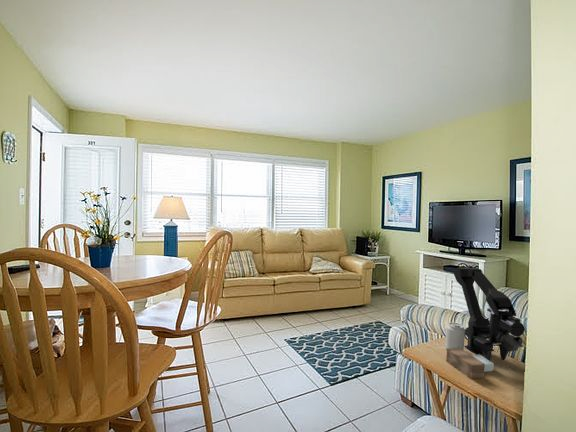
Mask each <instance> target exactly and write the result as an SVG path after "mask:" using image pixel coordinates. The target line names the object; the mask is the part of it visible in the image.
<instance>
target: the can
mask: <svg viewBox="0 0 576 432" xmlns="http://www.w3.org/2000/svg"><path fill="white" fill-rule="evenodd" d="M464 327H465V326H464V325H463V324H461V323H458V322H453V321H452V322H451V321H450V322H448V324H447V325H446V329H445V330H446V331H445V341H444V342H445V344H444V346H445V349H446V350H447V349H450V348H458V347H459V348H460V349H462V350H464V351H465V337H466V335H465V329H466V328H464Z"/></svg>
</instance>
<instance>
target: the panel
mask: <svg viewBox="0 0 576 432" xmlns="http://www.w3.org/2000/svg"><path fill="white" fill-rule="evenodd" d="M472 356H473V357H475V358H476V359H478V360H479V361H481V362H483V363H484V364H485V368H484V373H485V372H493V371H494V366H495V363H494V362H492V361H491V360H490V361H489V360H487V359H486V358H485V356H482V355H481V354H472Z"/></svg>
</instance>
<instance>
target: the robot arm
mask: <svg viewBox="0 0 576 432" xmlns="http://www.w3.org/2000/svg"><path fill="white" fill-rule="evenodd" d="M453 276H454V279H455V280H456V283H458V284H459V285H460V286H461V289H462V292H463V296H464V299H465V302H466V307H467V310H468V313H469V319H468V322H467V323H468V324H467V327H466V328H464V329H465V337H467V345H464V349H465V348H466V349H467V350H469V351H471V352H473V353H474V354H475V355H479V354H483V355H484V356H483V357H484V358H486V359H487V360H489V361H491V358H492V353H493V352H494V351H495V349H494V345H498V349H499V354H500V359H501V360H502V361H505V360H506V358H507V356H508V355H509V353H510V352H513V351H514V352H517V351H518V350H519V348H522V347H523V338H522V337H521V336H522V335H523V334H524V333H525V331H526V329H525V325H524V324H523V323H522V322H521V319H520V318H518V317H517V313H516V309H515V308H514V305H513V303H512V301H511V298H510V297H508V295H506V294H505V293H504V292H503V291H500V290H498V289H497V288H496V287H495V286H494V284H493V283H492V282H490V279H489V278H488V277H486V275H485V274H484V272H483V270H482V269H481V268H478V267H477V268H475V267H456V268H455V269H454V270H453ZM474 283H475V284H476V285H477V286H478V287H479V289H480V290H481V291H482V293H483V294H484V296H485V301H486V303H487V304H488V308H487V309H486V311H487V312H489V313H490V317H489V318H486V317H484V316H483V314H482V309H481V307H480V304H479V303H480V302H479V300H478V297H477V294H476V290H475V287H474Z"/></svg>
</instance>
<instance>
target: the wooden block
mask: <svg viewBox="0 0 576 432" xmlns="http://www.w3.org/2000/svg"><path fill="white" fill-rule="evenodd" d="M472 355H473V354H472ZM472 355H471V354H470V353H468V352H467V351H465V349H464V350H462V349H460V348H459V347H458V348H450V349H447V348H446V360H445V361H446V362H447V363H448V364H449V365H451V366H452V367H454V368H455V369H456V370H458V371H459V372H461V373H462V374H463V375H465V376H466V377H467V378H469V379H470V380H475V379H480V378H484V377H485V372H484V368H485V364H484V363H483V362H481V361H479V360H478V359H476V358H475V357H473V356H472Z"/></svg>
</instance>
